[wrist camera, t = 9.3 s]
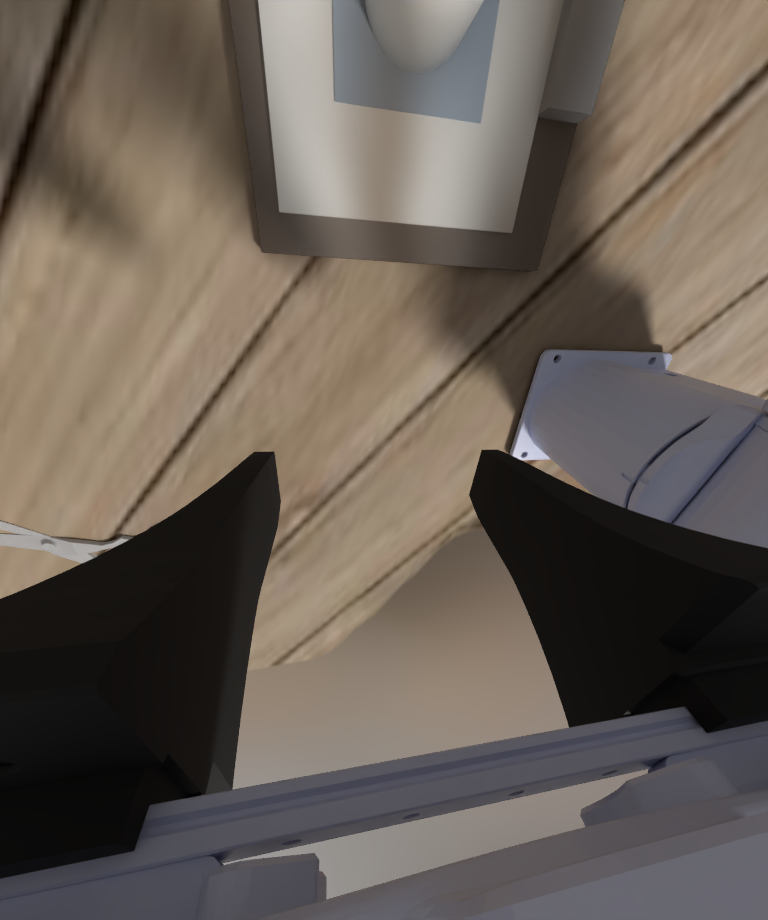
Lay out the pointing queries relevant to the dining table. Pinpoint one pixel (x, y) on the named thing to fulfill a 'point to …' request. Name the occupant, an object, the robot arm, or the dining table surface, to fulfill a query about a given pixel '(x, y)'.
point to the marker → (420, 30)
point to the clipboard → (415, 129)
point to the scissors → (55, 543)
